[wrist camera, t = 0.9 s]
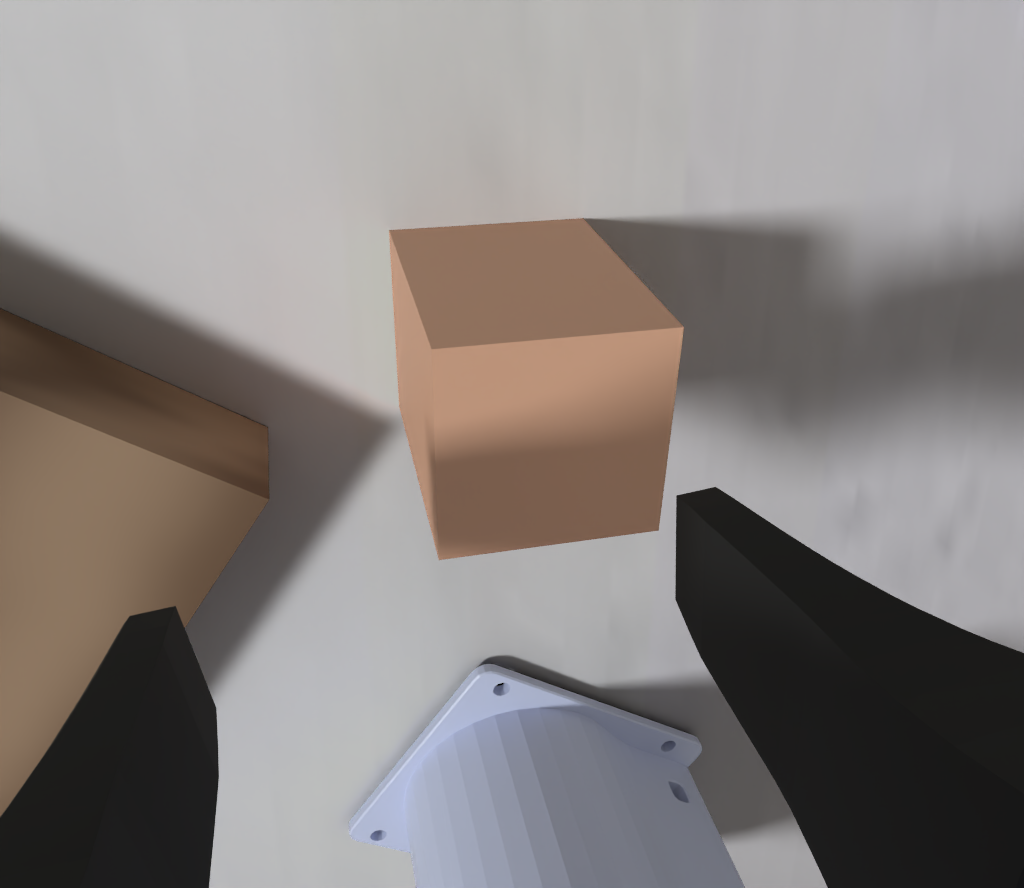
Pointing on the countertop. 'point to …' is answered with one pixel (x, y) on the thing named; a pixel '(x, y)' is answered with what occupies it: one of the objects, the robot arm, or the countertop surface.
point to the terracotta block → (531, 384)
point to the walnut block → (102, 519)
